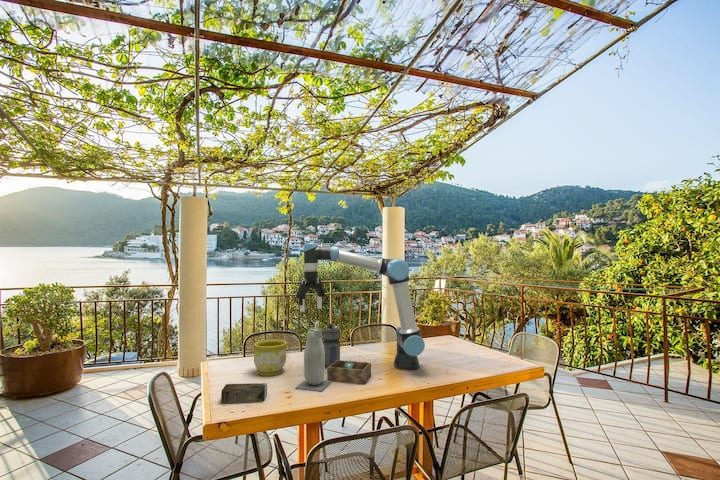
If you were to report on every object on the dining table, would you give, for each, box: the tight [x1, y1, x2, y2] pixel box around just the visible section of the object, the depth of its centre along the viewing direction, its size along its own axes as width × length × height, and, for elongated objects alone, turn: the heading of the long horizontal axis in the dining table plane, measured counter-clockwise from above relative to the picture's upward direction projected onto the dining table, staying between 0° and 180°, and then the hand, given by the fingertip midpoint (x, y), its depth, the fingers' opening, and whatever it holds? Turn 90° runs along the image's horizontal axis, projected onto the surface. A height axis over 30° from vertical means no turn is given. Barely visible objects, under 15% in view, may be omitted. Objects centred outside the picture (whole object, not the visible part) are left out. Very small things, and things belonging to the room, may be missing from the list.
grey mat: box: [295, 379, 333, 393], centre depth 176 cm, size 14×14×1 cm
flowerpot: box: [253, 338, 288, 377], centre depth 197 cm, size 18×18×16 cm
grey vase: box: [303, 327, 326, 385], centre depth 177 cm, size 10×10×28 cm
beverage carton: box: [220, 382, 268, 404], centre depth 158 cm, size 8×19×7 cm, turn 97°
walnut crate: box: [326, 359, 372, 385], centre depth 187 cm, size 20×14×7 cm
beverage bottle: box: [322, 323, 341, 369], centre depth 208 cm, size 10×13×25 cm
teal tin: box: [344, 362, 354, 369], centre depth 189 cm, size 5×5×6 cm
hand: (311, 309), depth 191 cm, fingers open, 13 cm apart
